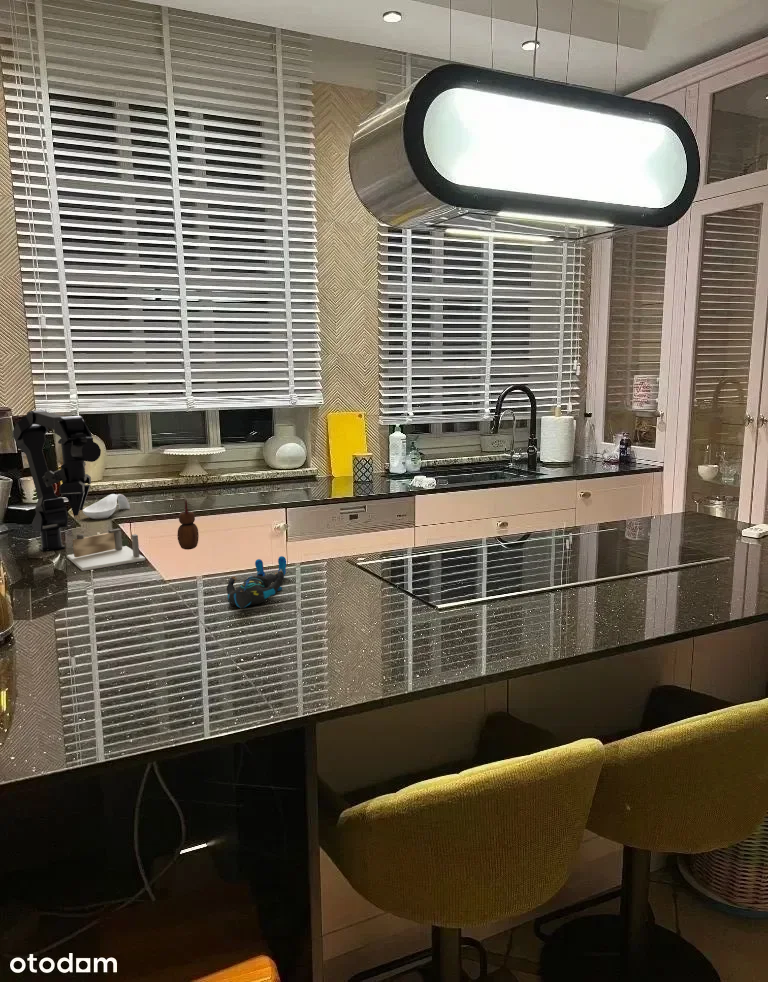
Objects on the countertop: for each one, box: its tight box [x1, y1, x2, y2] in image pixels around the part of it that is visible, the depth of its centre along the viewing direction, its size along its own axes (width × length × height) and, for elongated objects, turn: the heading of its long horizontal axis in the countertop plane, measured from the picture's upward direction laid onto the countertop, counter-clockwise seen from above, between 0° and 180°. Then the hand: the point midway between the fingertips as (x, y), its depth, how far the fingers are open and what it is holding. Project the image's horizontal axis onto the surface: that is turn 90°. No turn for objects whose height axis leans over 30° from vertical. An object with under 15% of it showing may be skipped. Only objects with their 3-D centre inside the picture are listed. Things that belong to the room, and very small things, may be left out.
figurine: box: [226, 555, 287, 609], centre depth 176 cm, size 13×6×30 cm
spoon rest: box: [82, 493, 131, 520], centre depth 287 cm, size 24×12×7 cm, turn 170°
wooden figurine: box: [177, 500, 200, 551], centre depth 225 cm, size 7×6×15 cm
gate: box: [72, 528, 122, 557], centre depth 219 cm, size 14×2×6 cm, turn 139°
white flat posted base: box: [66, 531, 146, 572], centre depth 216 cm, size 19×17×7 cm
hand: (78, 512), depth 220 cm, fingers open, 8 cm apart
